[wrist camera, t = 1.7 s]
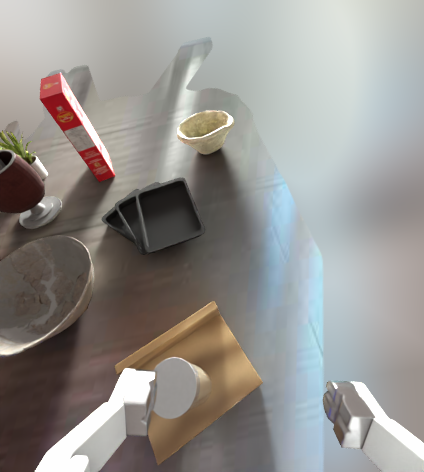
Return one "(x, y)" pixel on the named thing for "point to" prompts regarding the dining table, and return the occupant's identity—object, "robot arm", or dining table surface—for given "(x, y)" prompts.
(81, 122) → the food packaging
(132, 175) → the dining table surface
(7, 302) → the ceramic bowl
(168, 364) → the cylinder
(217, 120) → the bowl
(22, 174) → the mate gourd
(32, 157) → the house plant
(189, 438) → the wooden stand
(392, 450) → the robot arm
